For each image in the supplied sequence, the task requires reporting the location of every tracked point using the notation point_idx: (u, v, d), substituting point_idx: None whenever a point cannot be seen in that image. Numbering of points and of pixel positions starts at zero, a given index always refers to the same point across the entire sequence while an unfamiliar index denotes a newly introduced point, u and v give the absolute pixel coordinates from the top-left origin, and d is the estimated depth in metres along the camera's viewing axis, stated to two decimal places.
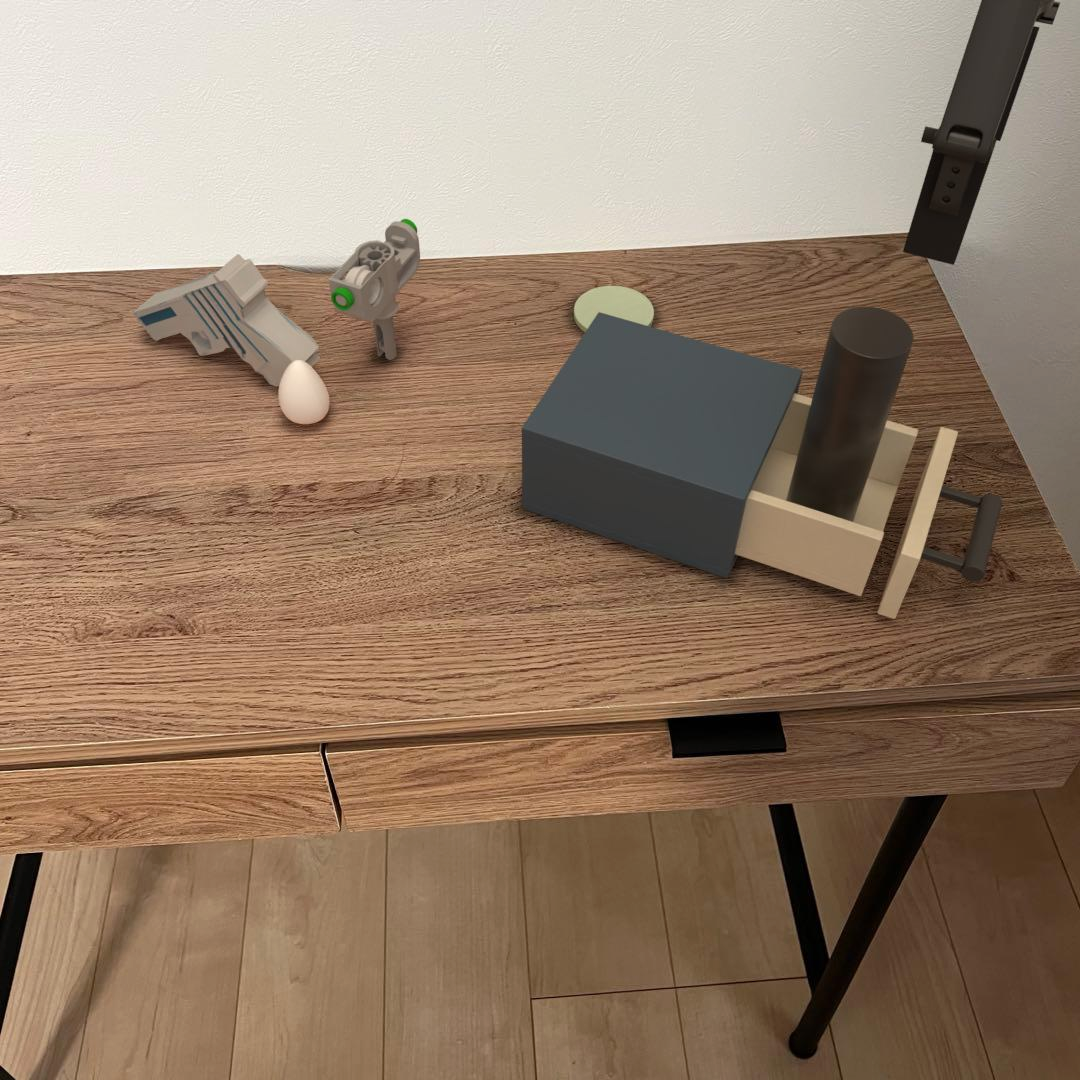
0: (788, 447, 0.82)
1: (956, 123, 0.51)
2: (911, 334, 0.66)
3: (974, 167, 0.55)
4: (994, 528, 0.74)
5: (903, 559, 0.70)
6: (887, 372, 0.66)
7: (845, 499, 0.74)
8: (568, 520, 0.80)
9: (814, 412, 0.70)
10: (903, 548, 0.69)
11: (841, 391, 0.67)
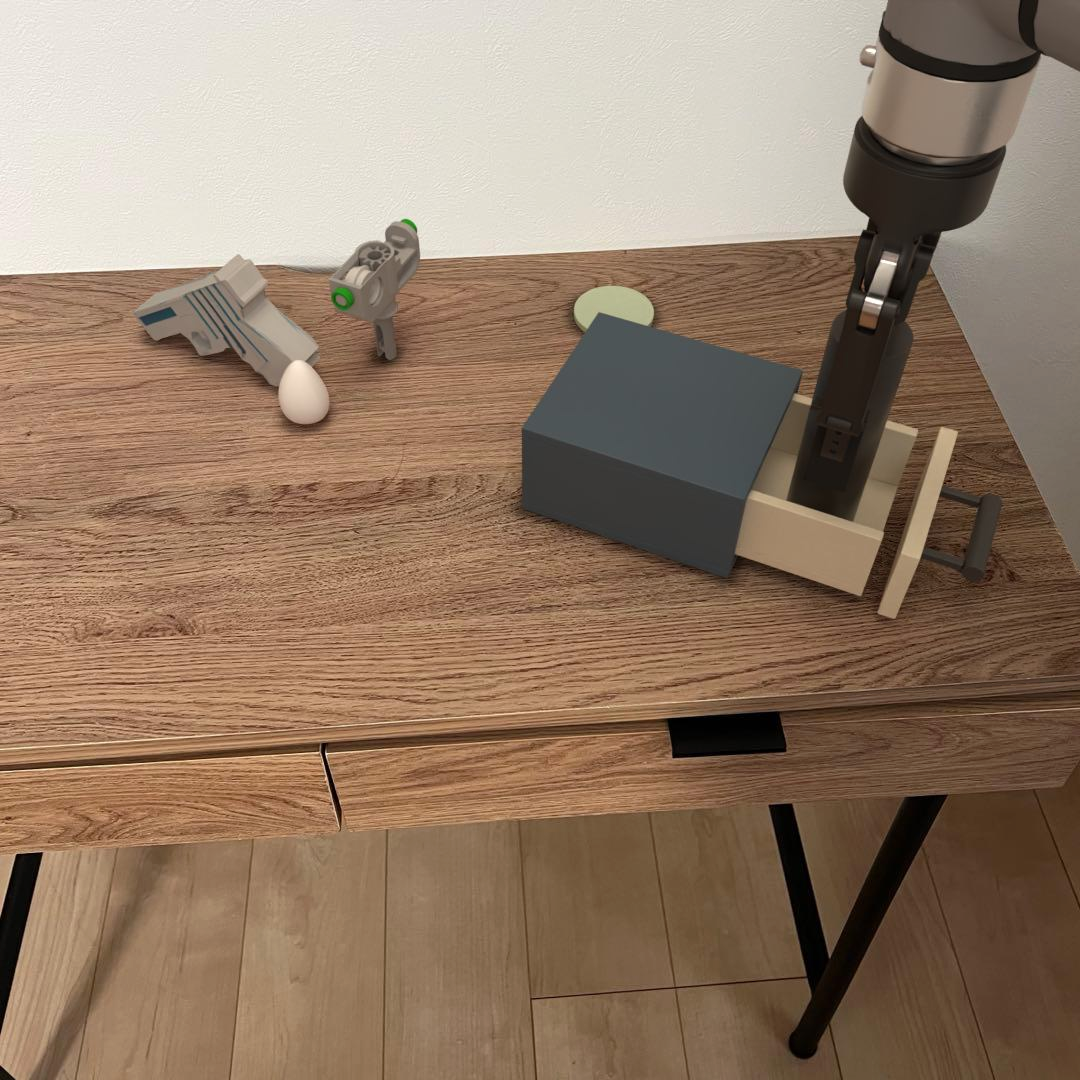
0: (788, 447, 0.82)
1: (831, 414, 0.64)
2: (911, 334, 0.66)
3: None
4: (994, 528, 0.74)
5: (903, 559, 0.70)
6: (887, 372, 0.66)
7: (845, 499, 0.74)
8: (568, 520, 0.80)
9: (814, 412, 0.70)
10: (903, 548, 0.69)
11: None
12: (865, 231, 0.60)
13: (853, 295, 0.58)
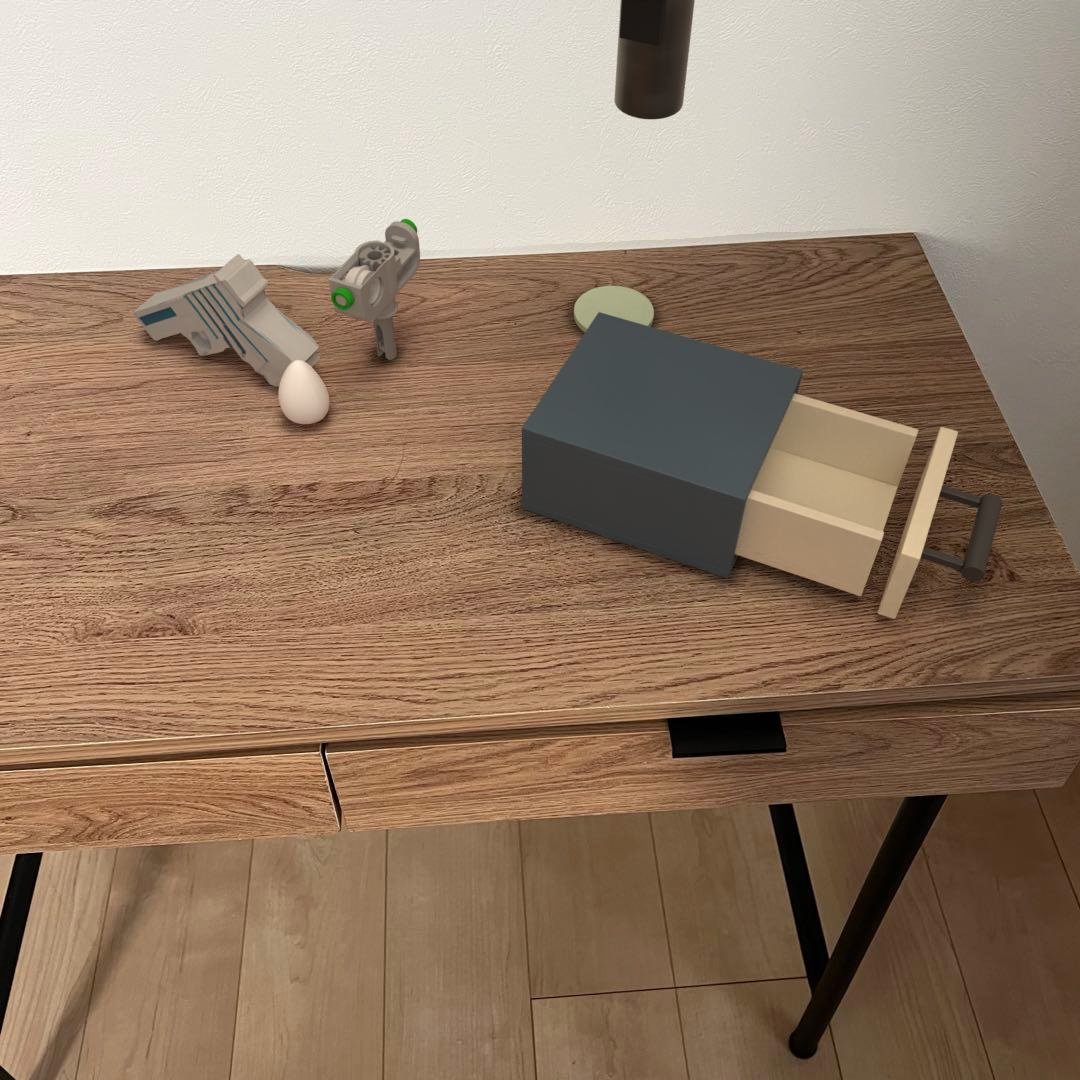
0: (788, 447, 0.82)
1: None
2: None
3: None
4: (994, 528, 0.74)
5: (903, 559, 0.70)
6: None
7: (664, 65, 0.74)
8: (568, 520, 0.80)
9: None
10: (903, 548, 0.69)
11: None
12: None
13: None
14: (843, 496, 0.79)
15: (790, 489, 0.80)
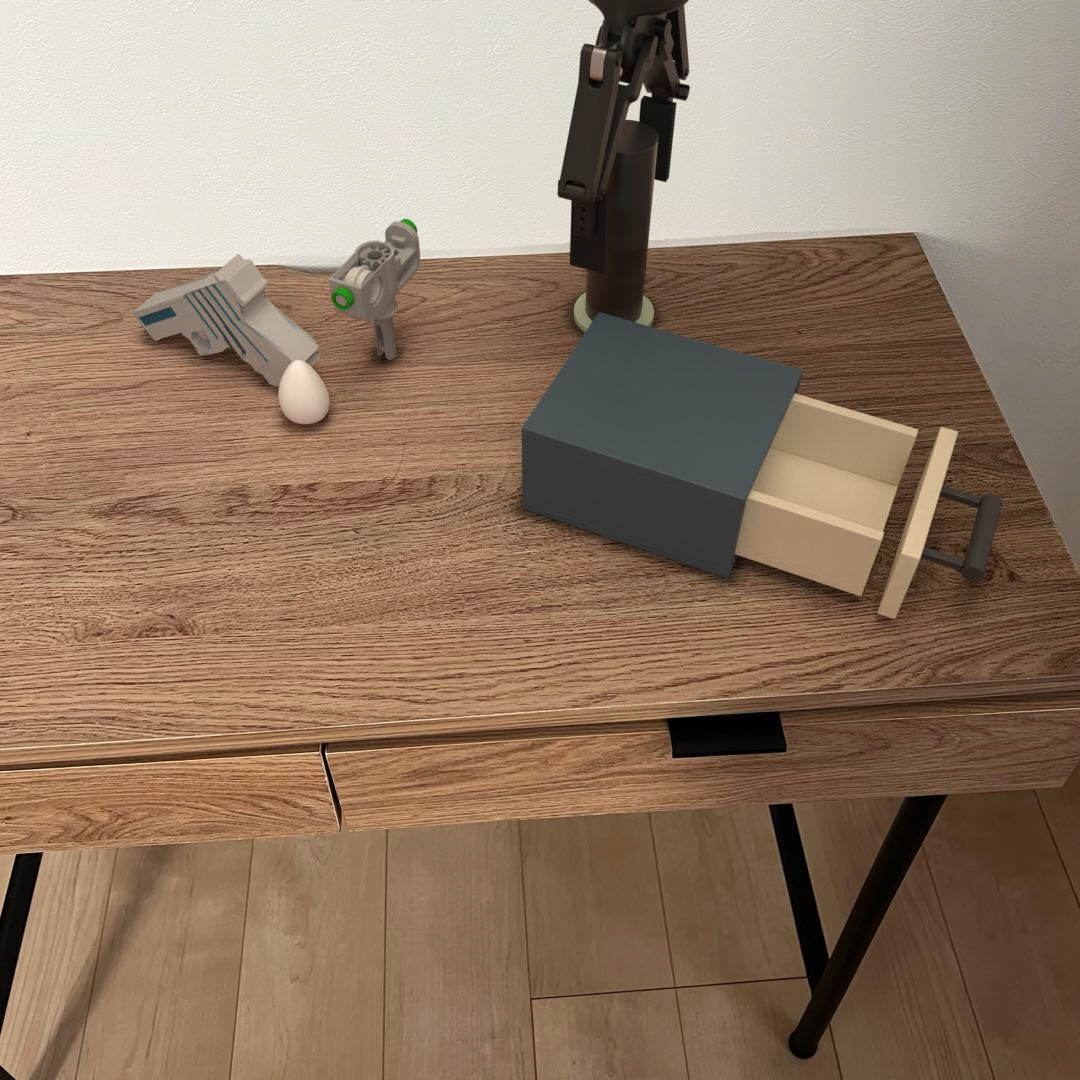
0: (788, 447, 0.82)
1: (569, 179, 0.76)
2: (656, 138, 0.83)
3: (598, 206, 0.79)
4: (994, 528, 0.74)
5: (903, 559, 0.70)
6: (636, 167, 0.82)
7: (624, 289, 0.91)
8: (568, 520, 0.80)
9: None
10: (903, 548, 0.69)
11: None
12: None
13: (585, 44, 0.72)
14: (843, 496, 0.79)
15: (790, 489, 0.80)
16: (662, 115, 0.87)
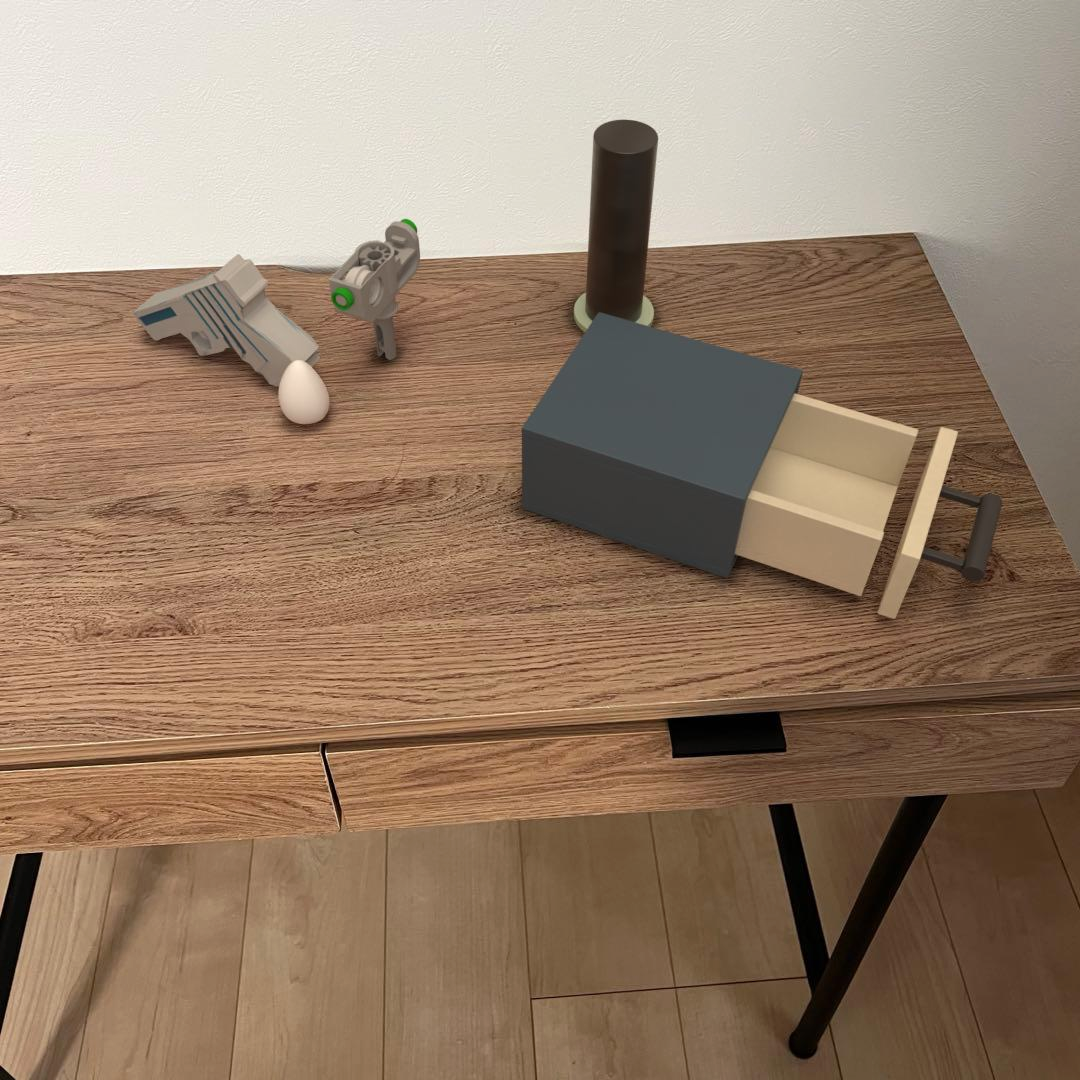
0: (788, 447, 0.82)
1: None
2: (656, 138, 0.83)
3: None
4: (994, 528, 0.74)
5: (903, 559, 0.70)
6: (636, 167, 0.82)
7: (624, 289, 0.91)
8: (568, 520, 0.80)
9: (591, 211, 0.87)
10: (903, 548, 0.69)
11: (604, 186, 0.84)
12: None
13: None
14: (843, 496, 0.79)
15: (790, 489, 0.80)
16: None
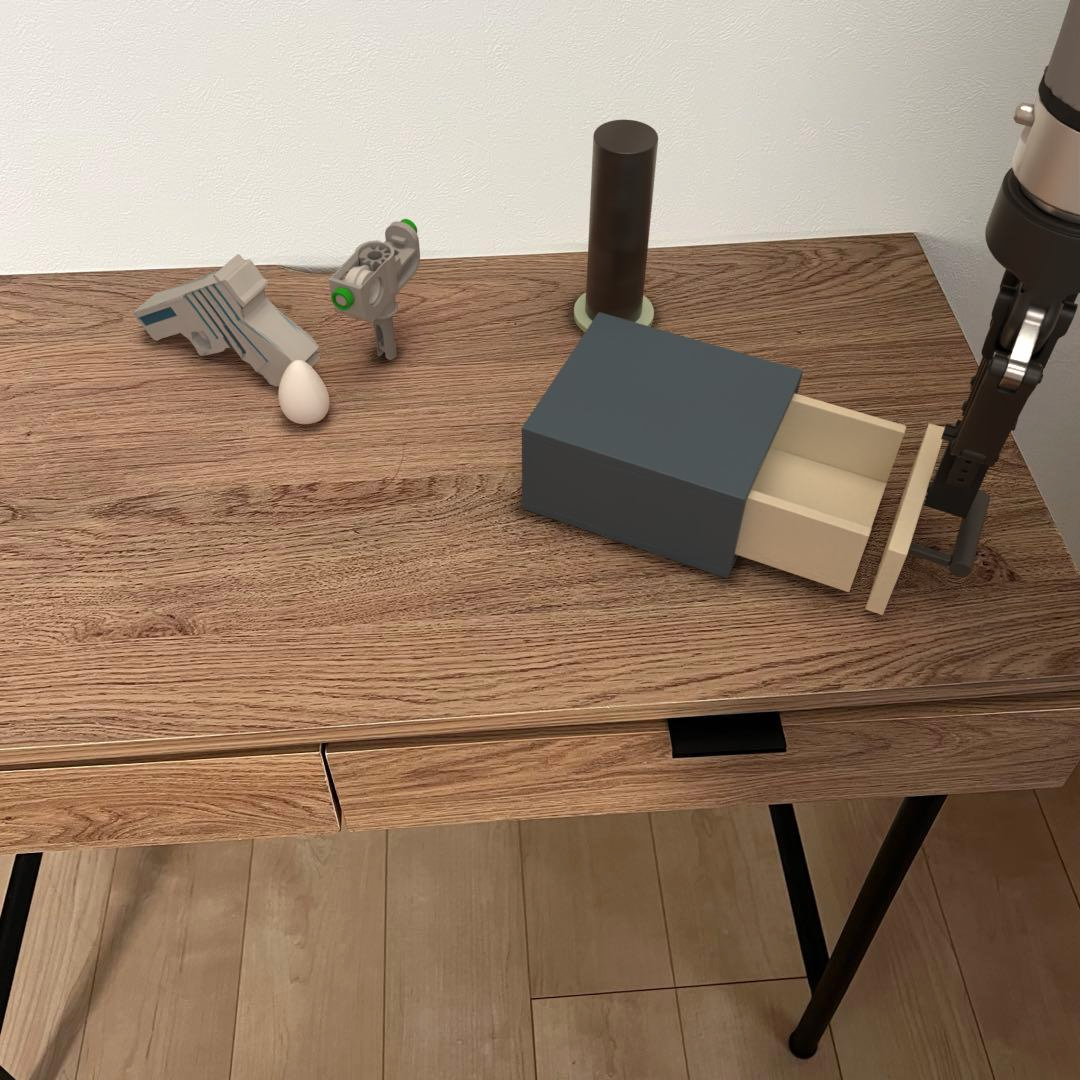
0: (777, 444, 0.82)
1: (966, 449, 0.65)
2: (656, 138, 0.83)
3: None
4: (982, 524, 0.74)
5: (890, 555, 0.70)
6: (636, 167, 0.82)
7: (624, 289, 0.91)
8: (568, 520, 0.80)
9: (591, 211, 0.87)
10: (890, 544, 0.70)
11: (604, 186, 0.84)
12: (1004, 288, 0.59)
13: (994, 363, 0.57)
14: (832, 492, 0.80)
15: (779, 486, 0.80)
16: None
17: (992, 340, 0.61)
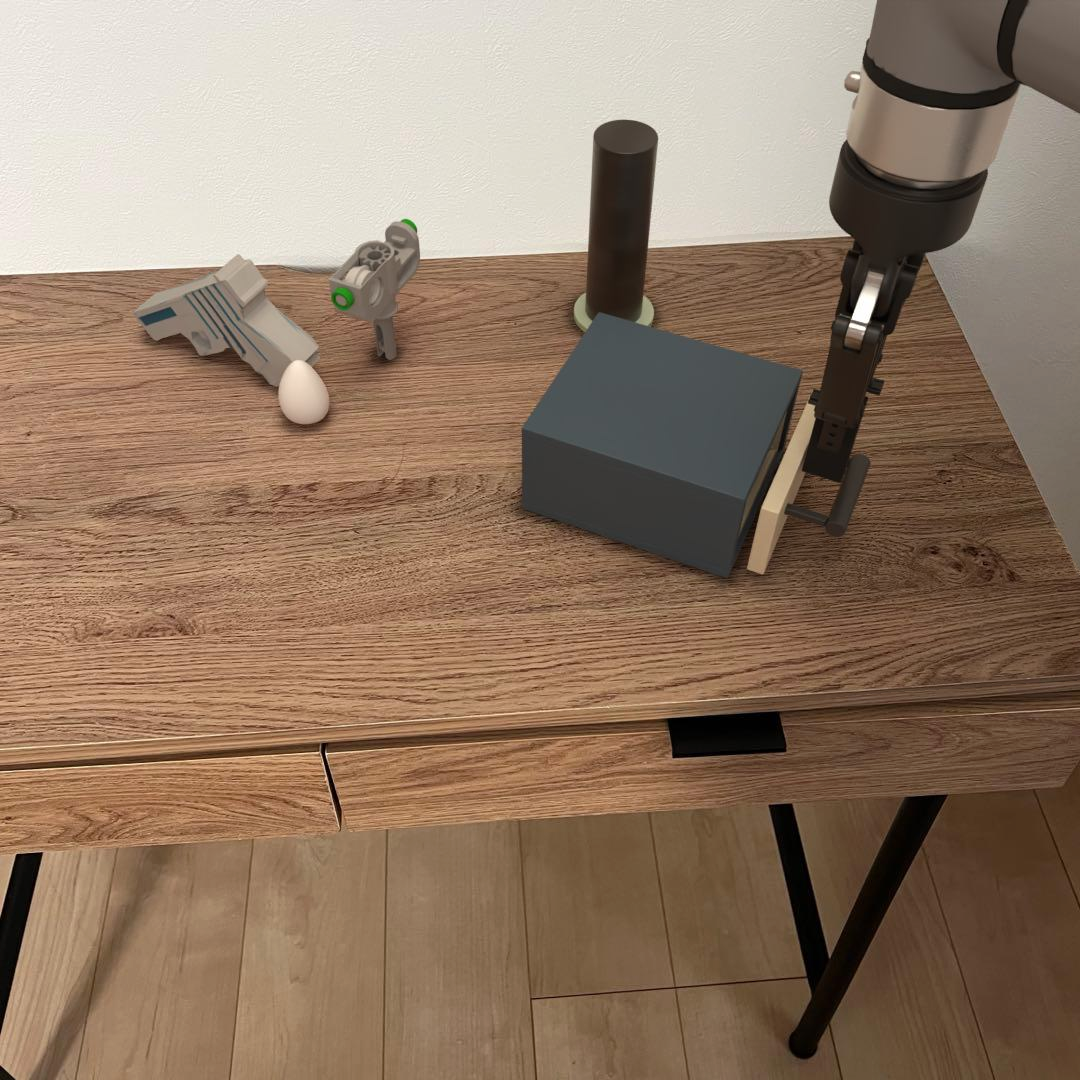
0: None
1: (826, 411, 0.67)
2: (656, 138, 0.83)
3: None
4: (859, 486, 0.76)
5: (764, 514, 0.72)
6: (636, 167, 0.82)
7: (624, 289, 0.91)
8: (568, 520, 0.80)
9: (591, 211, 0.87)
10: (763, 503, 0.72)
11: (604, 186, 0.84)
12: (850, 252, 0.62)
13: (836, 324, 0.60)
14: None
15: None
16: None
17: (843, 304, 0.64)
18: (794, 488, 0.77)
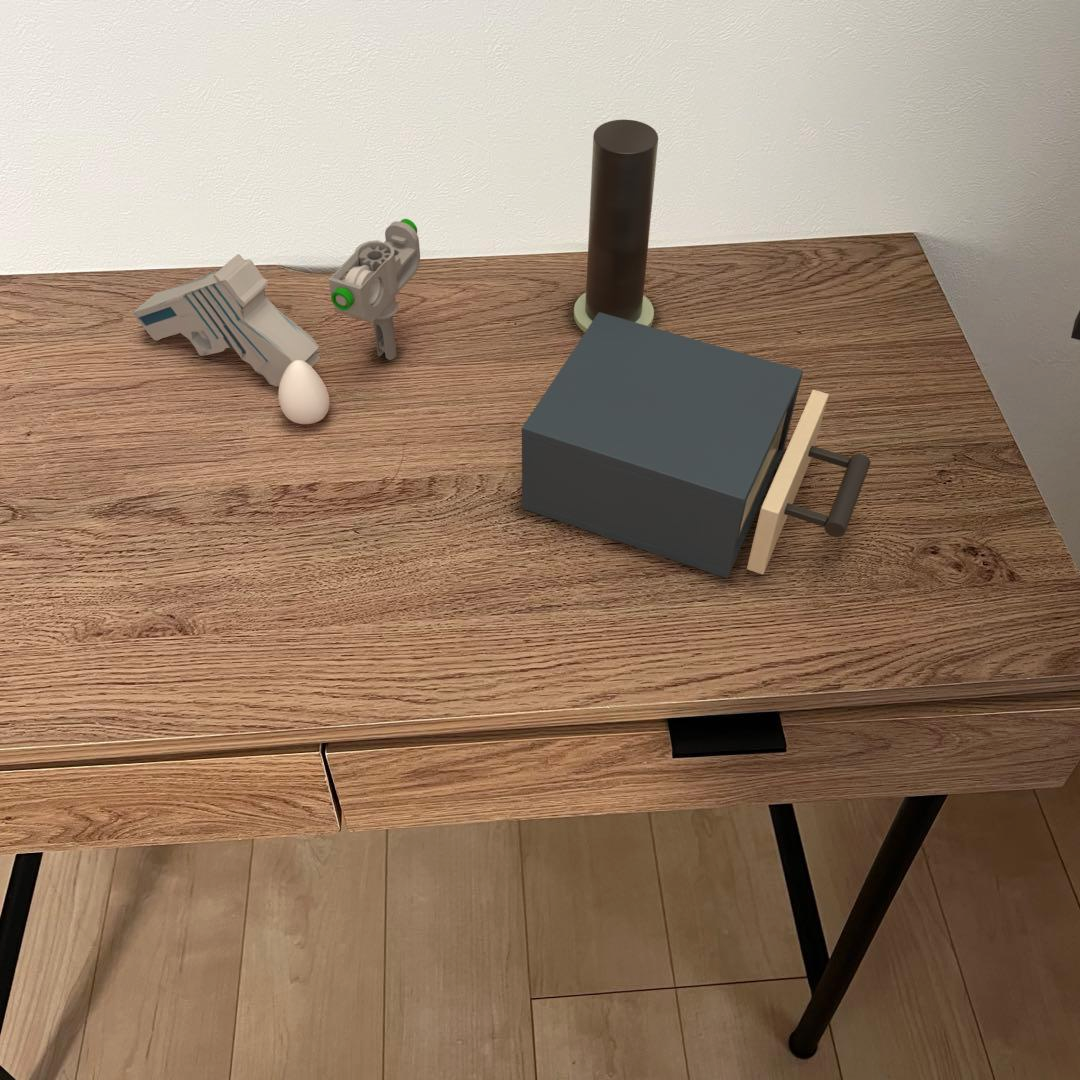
0: None
1: None
2: (656, 138, 0.83)
3: None
4: (859, 486, 0.76)
5: (764, 514, 0.72)
6: (636, 167, 0.82)
7: (624, 289, 0.91)
8: (568, 520, 0.80)
9: (591, 211, 0.87)
10: (763, 503, 0.72)
11: (604, 186, 0.84)
12: None
13: None
14: None
15: None
16: None
17: None
18: (794, 488, 0.77)
